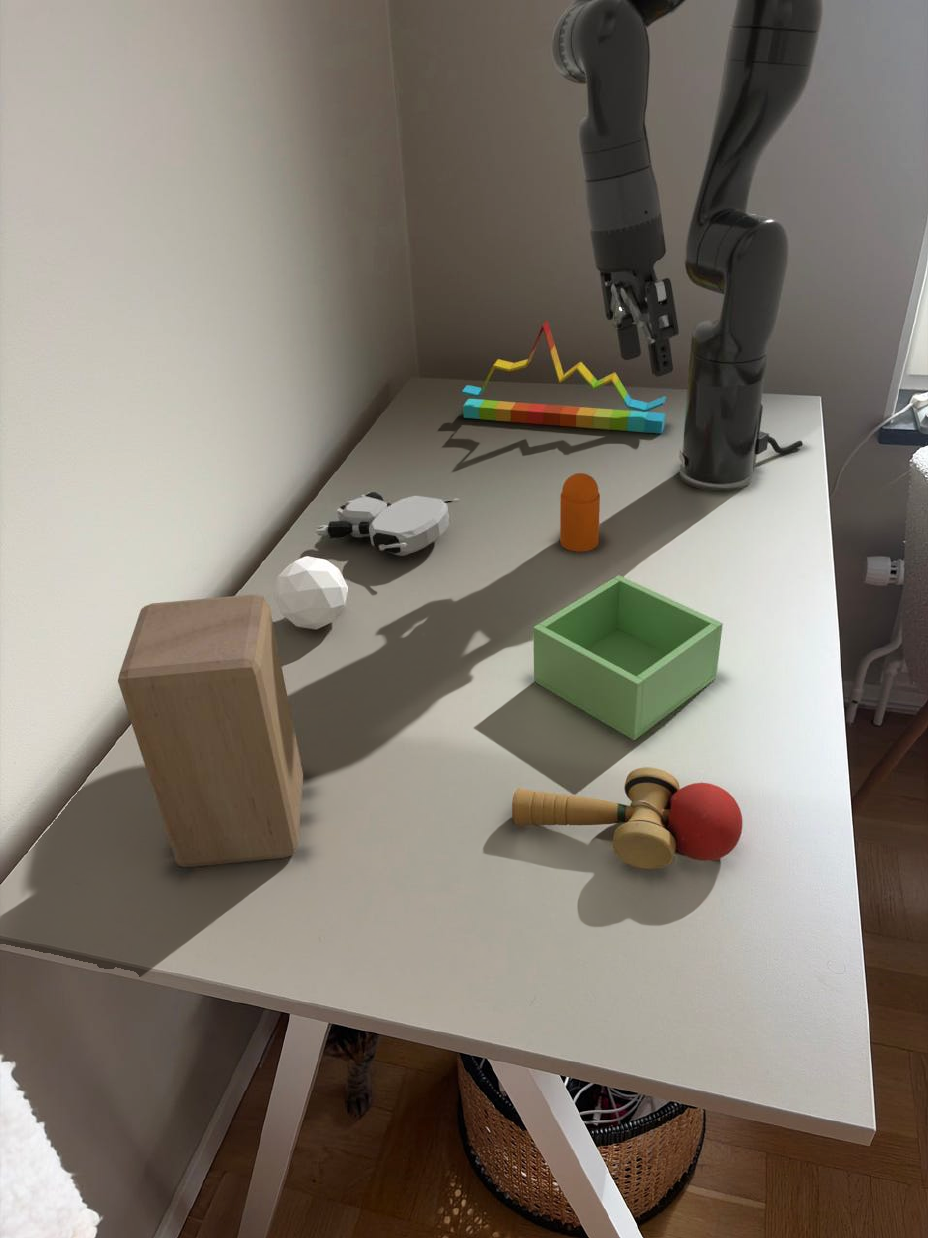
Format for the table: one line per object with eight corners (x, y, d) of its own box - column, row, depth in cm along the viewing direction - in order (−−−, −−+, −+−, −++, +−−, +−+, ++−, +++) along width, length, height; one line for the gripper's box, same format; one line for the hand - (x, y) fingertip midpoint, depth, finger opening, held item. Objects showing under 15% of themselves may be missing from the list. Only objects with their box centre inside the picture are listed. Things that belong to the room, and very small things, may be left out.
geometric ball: (310, 652, 107) (261, 622, 101) (304, 594, 112) (257, 562, 106) (365, 623, 104) (319, 591, 98) (358, 565, 109) (312, 530, 103)
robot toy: (313, 554, 121) (414, 574, 113) (306, 521, 118) (408, 540, 111) (370, 510, 129) (467, 526, 122) (364, 479, 127) (463, 494, 119)
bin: (616, 627, 103) (618, 574, 99) (716, 678, 95) (723, 623, 92) (533, 681, 96) (533, 627, 93) (634, 741, 89) (637, 684, 85)
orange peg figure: (577, 528, 121) (578, 462, 116) (606, 541, 118) (608, 474, 113) (552, 542, 118) (552, 475, 113) (580, 556, 115) (582, 487, 110)
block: (192, 786, 87) (138, 599, 75) (305, 775, 87) (268, 587, 76) (175, 873, 79) (111, 678, 67) (299, 861, 79) (256, 665, 68)
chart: (664, 424, 145) (671, 324, 136) (661, 433, 142) (668, 331, 134) (469, 409, 153) (464, 314, 145) (463, 417, 151) (458, 321, 142)
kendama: (509, 873, 78) (742, 888, 73) (499, 807, 76) (739, 817, 70) (530, 817, 85) (744, 827, 80) (521, 754, 83) (742, 760, 77)
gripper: (687, 212, 97) (706, 369, 105) (630, 202, 109) (650, 343, 117) (618, 234, 96) (642, 390, 104) (568, 221, 108) (593, 362, 116)
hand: (646, 365), depth 111 cm, fingers open, 8 cm apart
